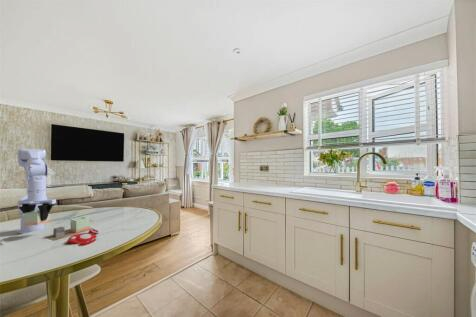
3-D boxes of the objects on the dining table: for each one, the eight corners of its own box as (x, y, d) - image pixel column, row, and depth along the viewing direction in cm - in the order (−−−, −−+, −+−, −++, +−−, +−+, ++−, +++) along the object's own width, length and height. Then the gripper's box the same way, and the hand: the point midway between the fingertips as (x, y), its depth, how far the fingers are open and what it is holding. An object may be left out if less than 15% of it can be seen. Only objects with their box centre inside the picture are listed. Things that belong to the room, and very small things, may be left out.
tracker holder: (96, 241, 76) (65, 241, 71) (93, 251, 76) (62, 251, 71) (101, 226, 86) (74, 225, 81) (99, 234, 87) (71, 234, 81)
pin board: (43, 239, 81) (43, 229, 82) (83, 228, 95) (83, 219, 95) (53, 242, 77) (53, 232, 77) (94, 230, 91) (94, 221, 91)
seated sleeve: (70, 230, 88) (70, 219, 89) (83, 227, 94) (83, 216, 94) (76, 232, 86) (76, 220, 86) (90, 228, 91) (89, 217, 91)
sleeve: (23, 225, 80) (23, 213, 80) (36, 221, 86) (36, 210, 86) (37, 225, 81) (37, 212, 81) (49, 221, 86) (49, 209, 86)
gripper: (9, 192, 79) (9, 223, 79) (45, 191, 80) (45, 222, 80) (27, 190, 86) (26, 218, 86) (60, 189, 87) (59, 217, 87)
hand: (37, 220), depth 83 cm, fingers closed on sleeve, 5 cm apart
